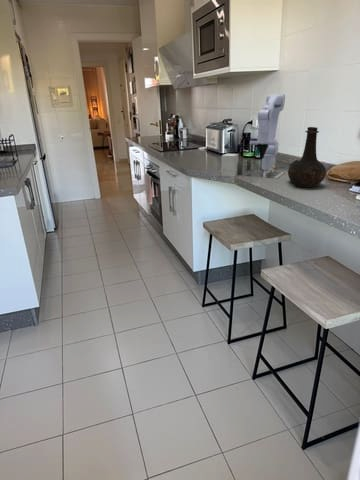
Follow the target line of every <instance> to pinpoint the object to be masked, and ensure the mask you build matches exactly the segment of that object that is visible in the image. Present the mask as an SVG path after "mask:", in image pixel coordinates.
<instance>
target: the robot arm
mask: <svg viewBox="0 0 360 480" xmlns="http://www.w3.org/2000/svg"><path fill="white" fill-rule="evenodd" d="M285 100H286V94H285V93H268V94H267V95H266V100H265V104H264V105H263V107H262V108H261V109H260V110H258V113H257V124H258V129H257V130H258V134H257V140H250V141H249V145H254V146H255V145H256V148H257V150H258V153H259V159H261V169H262V170H263V171H268V170H269V169H270V168H271V167H272V166H273V165H274V166H275V167H274V169H275V168H276V156H277V154H278V153H279V142H278V141H277V139H276V133H277V127H278V122H279V116H280V113H281V112H282V111H283V110H284V108H285Z"/></svg>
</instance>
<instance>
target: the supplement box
mask: <svg viewBox="0 0 360 480" xmlns="http://www.w3.org/2000/svg"><path fill="white" fill-rule="evenodd" d="M238 162H239V153H225V154H222V155H221V178H223V177H229V178H230V177H231V178H234V177H236V176H239V175H238Z"/></svg>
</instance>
